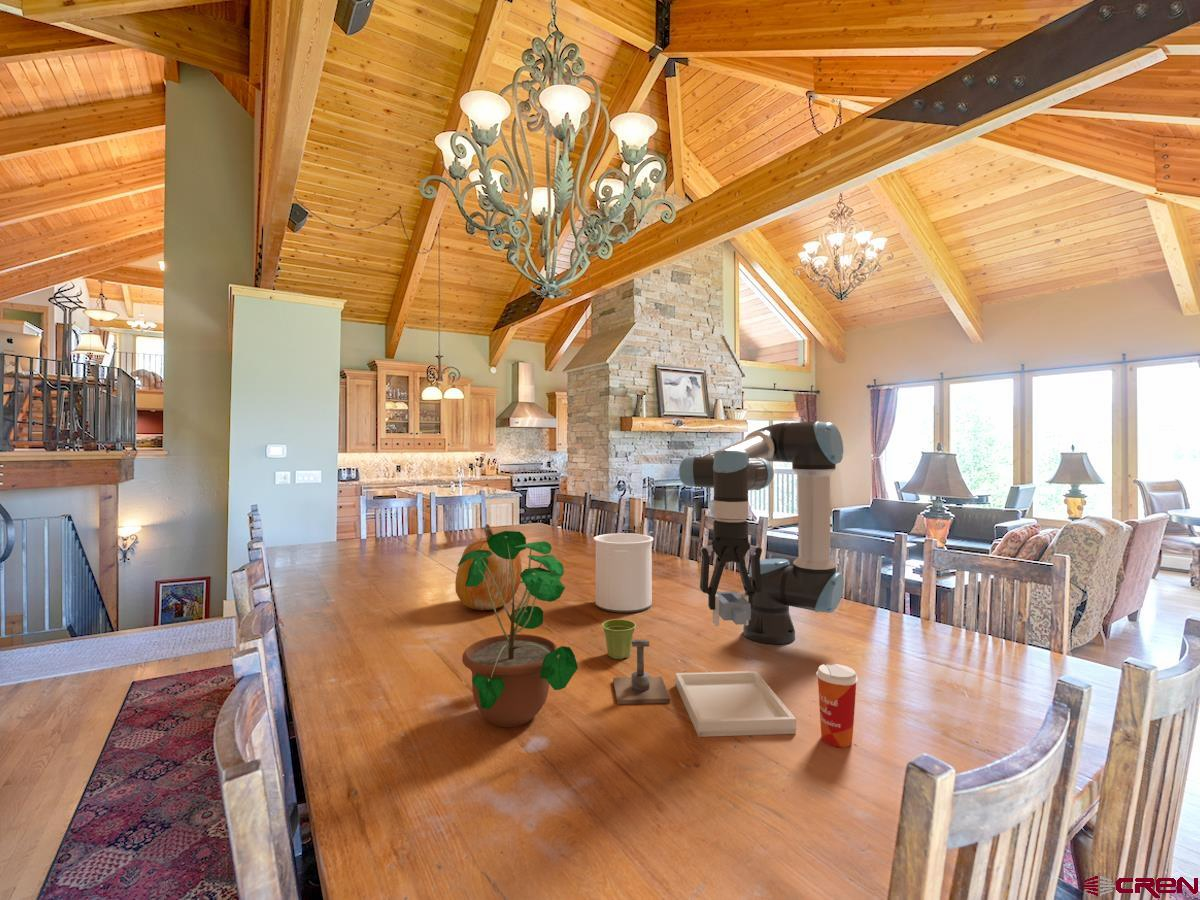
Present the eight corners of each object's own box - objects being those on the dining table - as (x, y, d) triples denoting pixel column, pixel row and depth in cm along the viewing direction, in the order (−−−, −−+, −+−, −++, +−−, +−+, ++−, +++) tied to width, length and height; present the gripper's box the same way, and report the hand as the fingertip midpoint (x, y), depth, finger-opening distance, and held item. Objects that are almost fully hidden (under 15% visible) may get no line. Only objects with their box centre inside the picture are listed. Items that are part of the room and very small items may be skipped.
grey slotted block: (711, 606, 131) (711, 591, 130) (736, 606, 131) (736, 591, 131) (727, 624, 118) (727, 608, 118) (754, 624, 118) (755, 607, 118)
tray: (756, 683, 138) (756, 671, 138) (796, 733, 115) (796, 719, 114) (675, 685, 137) (675, 673, 137) (698, 736, 113) (698, 721, 113)
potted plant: (535, 767, 103) (534, 551, 102) (426, 725, 118) (425, 537, 117) (619, 701, 129) (619, 528, 128) (521, 674, 144) (521, 519, 144)
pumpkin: (515, 617, 191) (515, 529, 191) (449, 617, 191) (448, 528, 191) (527, 596, 217) (526, 518, 217) (468, 596, 217) (467, 518, 217)
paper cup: (809, 731, 116) (809, 663, 115) (845, 729, 116) (845, 661, 116) (827, 752, 108) (827, 679, 108) (866, 750, 108) (866, 677, 108)
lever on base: (661, 680, 140) (661, 631, 140) (670, 702, 128) (670, 649, 128) (613, 681, 140) (613, 632, 139) (617, 704, 128) (617, 650, 127)
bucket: (598, 594, 219) (598, 531, 219) (654, 596, 216) (654, 532, 216) (588, 614, 194) (588, 543, 193) (651, 617, 191) (651, 544, 190)
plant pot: (633, 663, 151) (633, 631, 151) (598, 660, 153) (598, 628, 153) (638, 650, 160) (638, 620, 160) (605, 648, 162) (605, 618, 162)
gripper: (766, 517, 130) (766, 617, 130) (685, 517, 129) (684, 619, 129) (778, 521, 122) (778, 628, 122) (692, 522, 121) (692, 630, 121)
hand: (730, 623), depth 126 cm, fingers closed on grey slotted block, 6 cm apart
